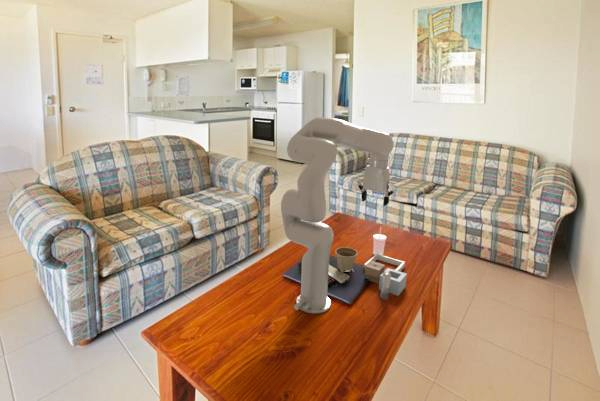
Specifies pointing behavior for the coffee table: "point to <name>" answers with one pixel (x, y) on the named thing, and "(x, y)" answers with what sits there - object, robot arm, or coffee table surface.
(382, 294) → the pin
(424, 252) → the coffee table surface
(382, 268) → the walnut block
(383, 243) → the beverage cup
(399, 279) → the bore block
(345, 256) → the flower pot
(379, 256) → the u-shaped frame
